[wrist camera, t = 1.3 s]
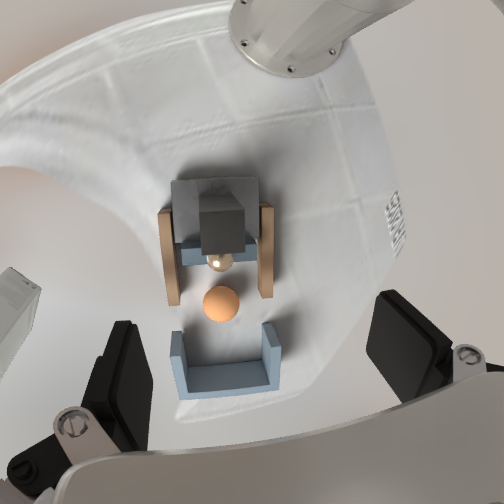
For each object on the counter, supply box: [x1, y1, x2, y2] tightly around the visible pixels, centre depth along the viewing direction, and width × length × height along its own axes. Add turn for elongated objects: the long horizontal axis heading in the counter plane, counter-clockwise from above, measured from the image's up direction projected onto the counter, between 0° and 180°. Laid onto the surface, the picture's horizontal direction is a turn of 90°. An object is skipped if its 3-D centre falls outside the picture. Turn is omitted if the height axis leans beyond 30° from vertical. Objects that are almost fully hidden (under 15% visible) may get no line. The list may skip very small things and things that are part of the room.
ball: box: [203, 286, 239, 322], centre depth 33 cm, size 4×4×4 cm
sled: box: [171, 176, 259, 272], centre depth 26 cm, size 8×8×10 cm
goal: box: [170, 323, 281, 400], centre depth 35 cm, size 7×12×5 cm, turn 91°
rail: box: [158, 203, 274, 306], centre depth 32 cm, size 10×11×2 cm
